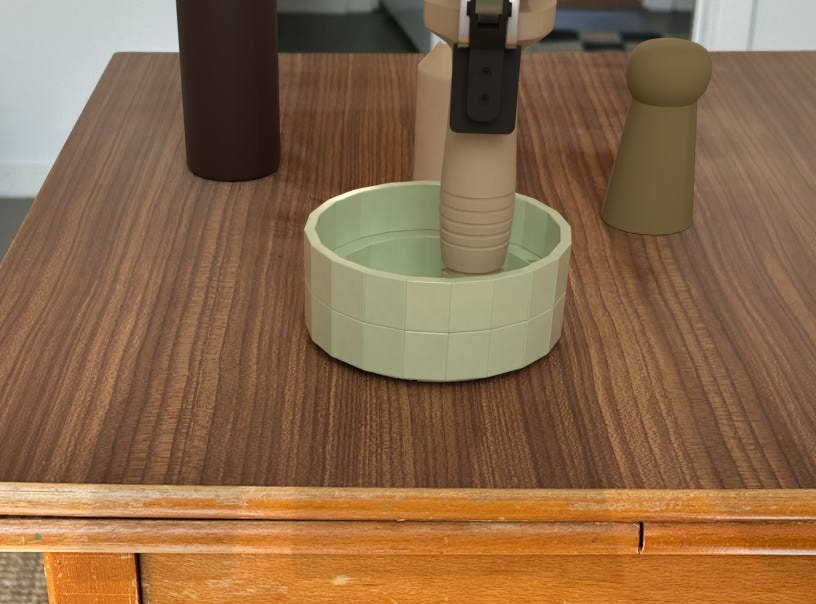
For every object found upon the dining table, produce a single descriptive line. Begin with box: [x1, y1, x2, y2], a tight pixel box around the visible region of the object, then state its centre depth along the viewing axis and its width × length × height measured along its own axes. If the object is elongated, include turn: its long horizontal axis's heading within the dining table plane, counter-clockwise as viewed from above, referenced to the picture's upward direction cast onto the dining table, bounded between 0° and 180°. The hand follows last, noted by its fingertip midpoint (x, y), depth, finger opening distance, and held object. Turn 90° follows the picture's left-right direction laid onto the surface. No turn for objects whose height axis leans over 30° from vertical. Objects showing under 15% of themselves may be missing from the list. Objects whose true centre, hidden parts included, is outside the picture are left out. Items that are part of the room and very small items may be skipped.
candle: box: [412, 40, 452, 181], centre depth 88 cm, size 6×6×10 cm
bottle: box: [175, 0, 282, 182], centre depth 89 cm, size 7×7×20 cm
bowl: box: [303, 180, 573, 383], centre depth 73 cm, size 14×14×6 cm
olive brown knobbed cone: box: [600, 37, 713, 236], centre depth 85 cm, size 6×6×11 cm
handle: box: [422, 0, 558, 278], centre depth 69 cm, size 5×6×15 cm
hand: (483, 109), depth 67 cm, fingers closed on handle, 5 cm apart
